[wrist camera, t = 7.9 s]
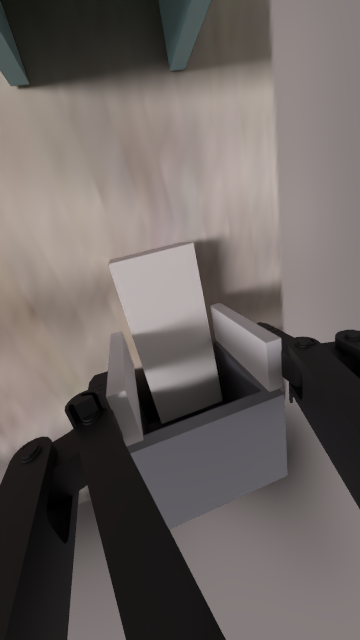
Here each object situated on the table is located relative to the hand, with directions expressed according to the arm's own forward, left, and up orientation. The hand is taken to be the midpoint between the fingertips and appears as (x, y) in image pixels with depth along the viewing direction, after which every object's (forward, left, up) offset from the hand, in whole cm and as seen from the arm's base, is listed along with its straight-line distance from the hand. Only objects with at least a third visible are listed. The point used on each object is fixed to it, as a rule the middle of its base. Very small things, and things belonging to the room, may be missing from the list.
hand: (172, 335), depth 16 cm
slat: (0, 0, -3) cm, 3 cm away
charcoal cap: (+5, +5, -2) cm, 7 cm away
